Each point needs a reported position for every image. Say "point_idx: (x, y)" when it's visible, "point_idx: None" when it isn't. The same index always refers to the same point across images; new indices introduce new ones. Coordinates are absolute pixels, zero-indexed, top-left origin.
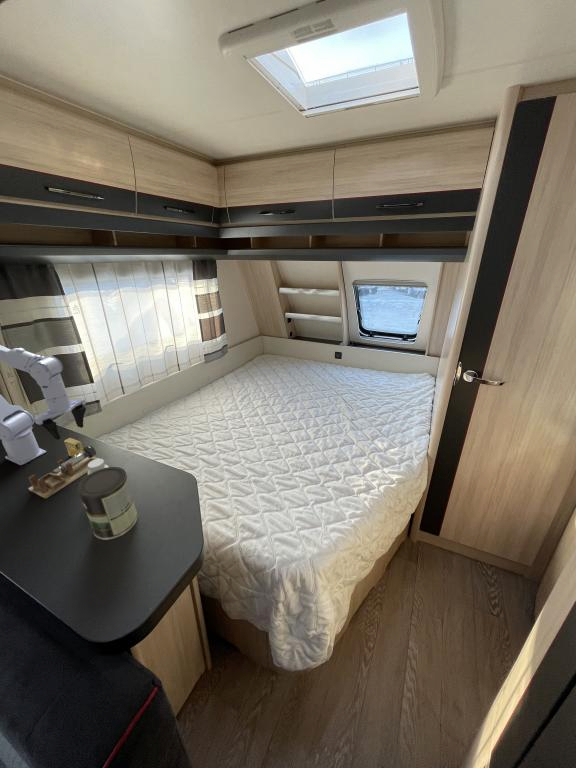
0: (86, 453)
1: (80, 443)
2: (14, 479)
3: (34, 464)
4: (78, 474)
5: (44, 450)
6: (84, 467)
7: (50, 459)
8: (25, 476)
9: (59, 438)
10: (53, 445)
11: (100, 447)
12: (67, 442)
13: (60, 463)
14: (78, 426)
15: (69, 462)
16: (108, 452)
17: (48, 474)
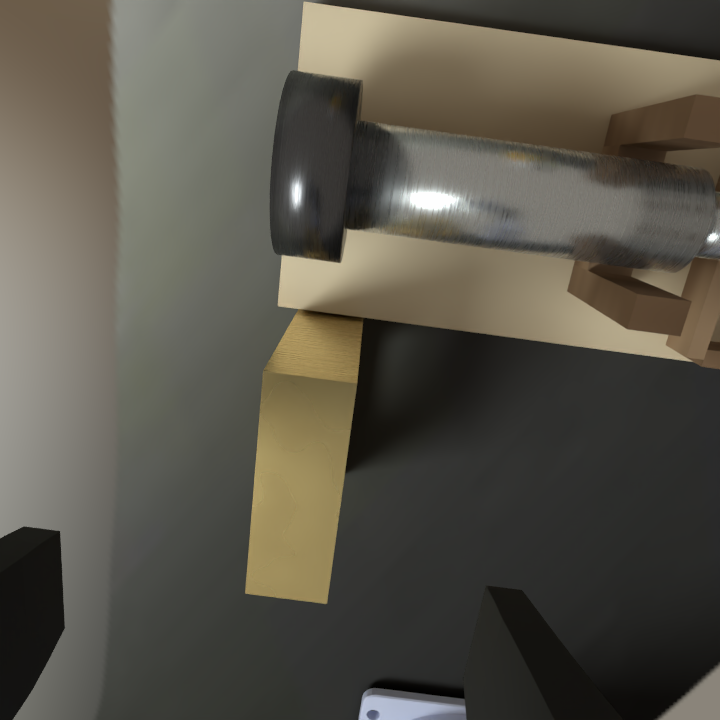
0: (392, 133)
1: (282, 363)
2: (715, 612)
3: None
4: (612, 60)
5: (363, 713)
6: (488, 107)
7: (433, 580)
8: (671, 569)
9: (499, 594)
10: (273, 713)
11: (123, 292)
12: (335, 536)
13: (660, 292)
14: (58, 614)
15: (637, 176)
16: (152, 115)
17: (717, 349)
